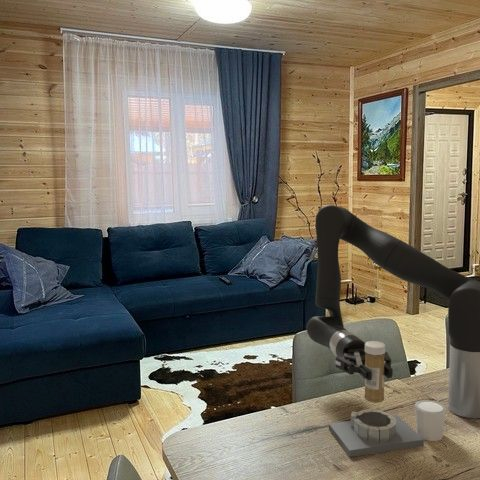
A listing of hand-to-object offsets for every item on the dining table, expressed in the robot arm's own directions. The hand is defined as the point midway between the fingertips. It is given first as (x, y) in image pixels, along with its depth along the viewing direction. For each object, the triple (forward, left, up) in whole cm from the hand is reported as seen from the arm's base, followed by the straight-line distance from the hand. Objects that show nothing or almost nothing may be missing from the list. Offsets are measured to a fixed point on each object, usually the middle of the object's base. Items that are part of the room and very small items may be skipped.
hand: (380, 375), depth 108 cm
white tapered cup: (-13, -1, -17) cm, 21 cm away
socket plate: (0, -3, -16) cm, 17 cm away
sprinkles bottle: (0, -3, -7) cm, 8 cm away
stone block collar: (0, -3, -15) cm, 15 cm away
